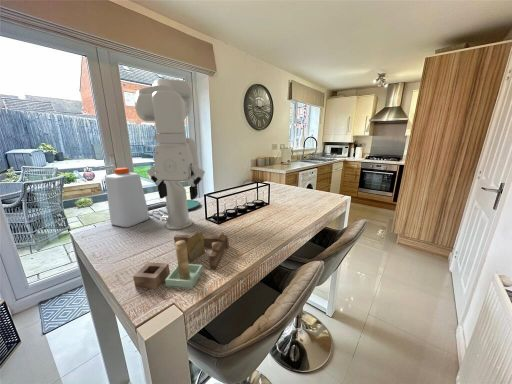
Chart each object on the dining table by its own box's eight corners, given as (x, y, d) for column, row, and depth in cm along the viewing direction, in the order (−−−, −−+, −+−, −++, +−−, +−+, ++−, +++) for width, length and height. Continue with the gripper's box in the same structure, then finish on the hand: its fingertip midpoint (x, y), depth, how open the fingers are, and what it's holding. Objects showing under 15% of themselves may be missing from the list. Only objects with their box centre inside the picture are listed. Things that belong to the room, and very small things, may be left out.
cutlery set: (206, 206, 133) (206, 203, 132) (159, 222, 111) (158, 218, 111) (189, 201, 145) (188, 197, 145) (143, 213, 124) (143, 210, 123)
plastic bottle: (126, 229, 102) (115, 171, 94) (107, 224, 108) (95, 169, 100) (153, 218, 115) (145, 167, 107) (134, 214, 121) (126, 165, 114)
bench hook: (155, 265, 73) (152, 246, 71) (177, 243, 88) (175, 226, 86) (217, 269, 70) (215, 249, 68) (228, 246, 85) (228, 229, 83)
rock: (181, 266, 68) (210, 253, 73) (173, 241, 70) (202, 230, 75) (181, 268, 78) (206, 257, 82) (173, 247, 80) (199, 237, 84)
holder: (135, 287, 62) (133, 276, 61) (149, 272, 69) (148, 262, 68) (157, 289, 61) (155, 277, 60) (170, 274, 68) (168, 263, 67)
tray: (166, 286, 62) (165, 279, 62) (179, 269, 70) (178, 263, 70) (192, 289, 61) (191, 281, 61) (203, 271, 69) (202, 264, 69)
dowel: (178, 280, 64) (173, 245, 61) (182, 274, 67) (178, 240, 64) (187, 281, 64) (183, 245, 61) (191, 274, 67) (187, 240, 64)
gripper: (134, 140, 57) (144, 200, 62) (196, 140, 55) (201, 203, 59) (151, 139, 64) (159, 193, 69) (206, 139, 62) (210, 195, 67)
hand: (178, 197), depth 64 cm, fingers open, 9 cm apart
